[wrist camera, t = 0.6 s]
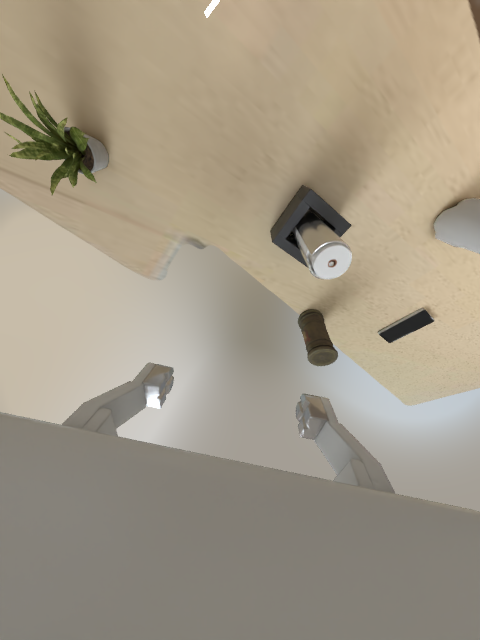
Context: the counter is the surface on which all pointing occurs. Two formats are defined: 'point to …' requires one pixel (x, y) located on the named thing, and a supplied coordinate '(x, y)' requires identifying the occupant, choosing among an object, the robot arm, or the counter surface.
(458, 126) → the counter surface
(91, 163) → the house plant
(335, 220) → the box
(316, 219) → the silver tall cylinder
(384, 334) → the smartphone
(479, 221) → the bottle
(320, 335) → the container
